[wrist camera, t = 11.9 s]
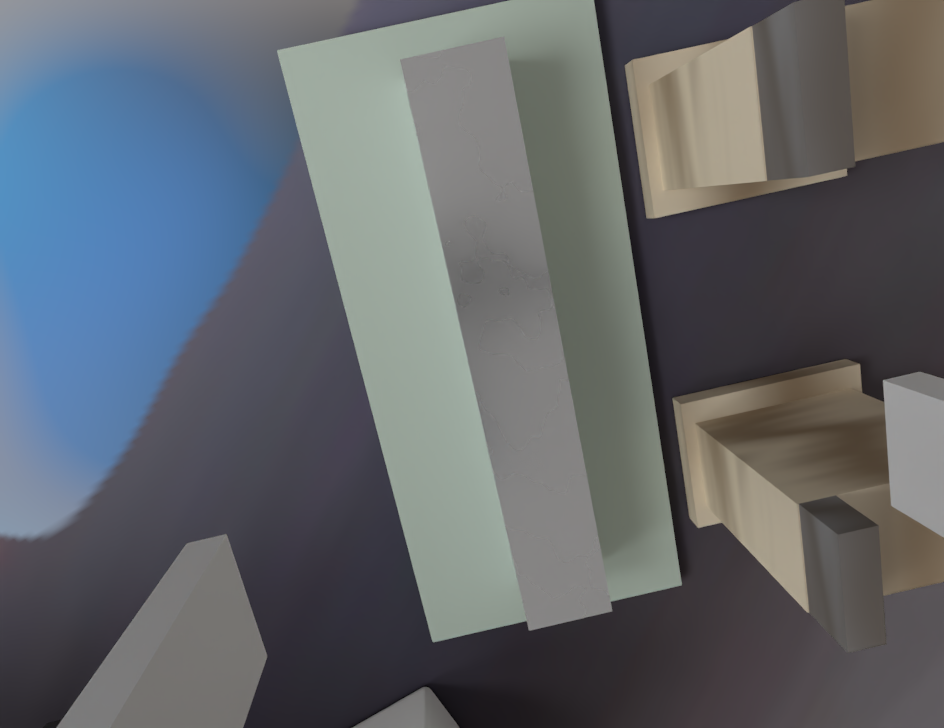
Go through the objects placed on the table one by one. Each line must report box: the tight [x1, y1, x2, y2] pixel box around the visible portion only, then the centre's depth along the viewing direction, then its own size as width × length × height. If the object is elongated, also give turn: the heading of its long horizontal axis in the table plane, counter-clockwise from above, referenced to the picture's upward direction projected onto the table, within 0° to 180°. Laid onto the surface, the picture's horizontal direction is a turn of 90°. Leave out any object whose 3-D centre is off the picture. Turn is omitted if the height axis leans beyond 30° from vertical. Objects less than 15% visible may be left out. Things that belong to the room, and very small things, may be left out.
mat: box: [277, 0, 682, 642], centre depth 27 cm, size 12×26×1 cm, turn 12°
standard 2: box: [625, 0, 944, 218], centre depth 21 cm, size 8×6×11 cm
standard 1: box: [672, 359, 944, 653], centre depth 24 cm, size 8×6×11 cm
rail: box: [400, 37, 612, 631], centre depth 25 cm, size 22×4×4 cm, turn 12°
